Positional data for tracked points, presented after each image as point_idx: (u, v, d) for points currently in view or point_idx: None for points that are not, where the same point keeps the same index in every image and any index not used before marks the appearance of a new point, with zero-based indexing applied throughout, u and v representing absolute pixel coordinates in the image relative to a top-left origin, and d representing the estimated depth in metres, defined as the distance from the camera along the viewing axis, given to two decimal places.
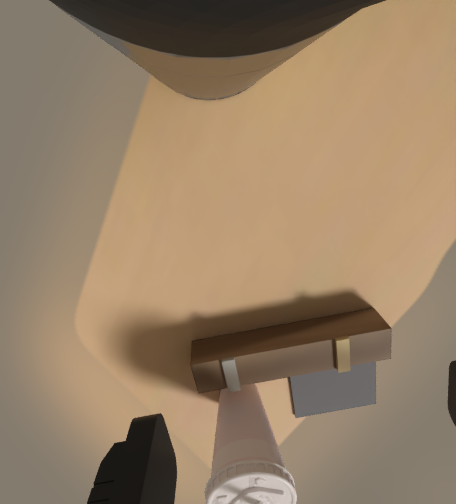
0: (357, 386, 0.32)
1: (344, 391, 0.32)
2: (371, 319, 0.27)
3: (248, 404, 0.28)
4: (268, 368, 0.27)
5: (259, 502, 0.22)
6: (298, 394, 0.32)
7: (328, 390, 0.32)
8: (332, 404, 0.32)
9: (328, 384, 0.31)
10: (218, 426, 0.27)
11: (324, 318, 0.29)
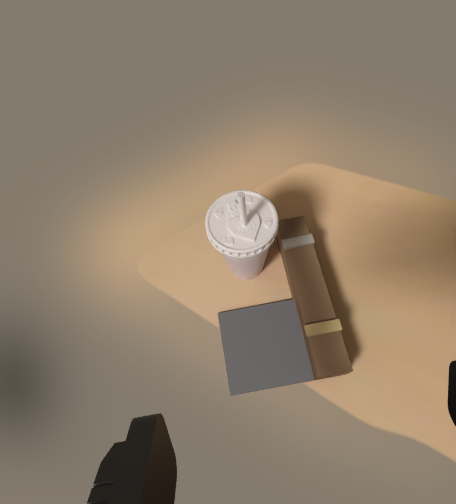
0: (254, 370, 0.32)
1: (248, 357, 0.32)
2: None
3: None
4: (303, 269, 0.33)
5: (247, 223, 0.28)
6: (246, 313, 0.34)
7: (250, 341, 0.33)
8: (232, 347, 0.33)
9: (258, 340, 0.33)
10: None
11: None
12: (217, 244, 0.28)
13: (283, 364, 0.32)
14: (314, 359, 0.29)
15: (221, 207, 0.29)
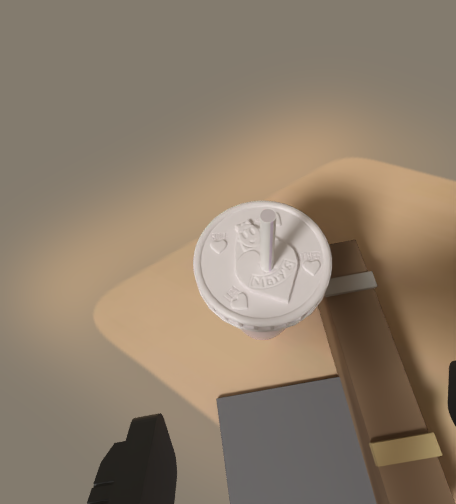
0: None
1: (268, 484, 0.19)
2: None
3: None
4: (360, 332, 0.20)
5: (273, 265, 0.15)
6: (263, 400, 0.21)
7: (270, 453, 0.20)
8: (240, 464, 0.20)
9: (283, 452, 0.20)
10: None
11: None
12: (215, 307, 0.14)
13: (328, 500, 0.18)
14: None
15: (224, 232, 0.16)
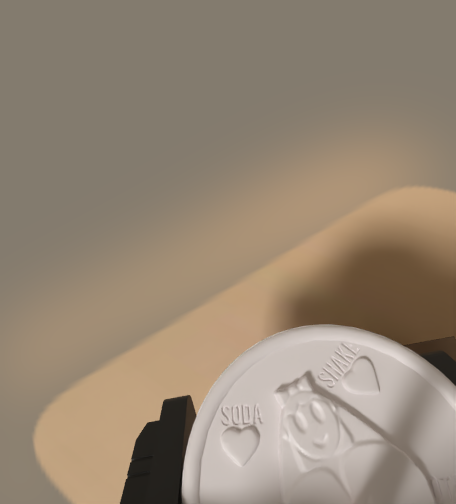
0: None
1: None
2: None
3: None
4: None
5: None
6: None
7: None
8: None
9: None
10: None
11: None
12: None
13: None
14: None
15: (252, 405, 0.07)
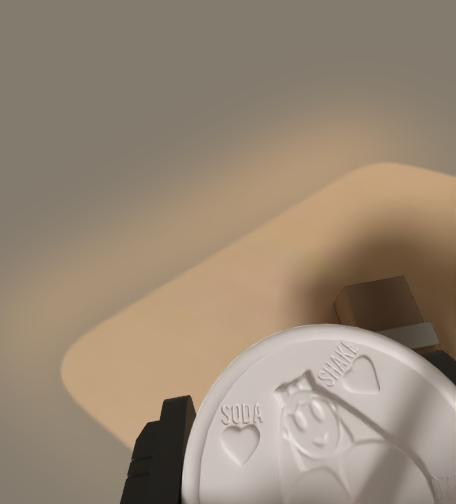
0: None
1: None
2: None
3: None
4: None
5: None
6: None
7: None
8: None
9: None
10: None
11: None
12: None
13: None
14: None
15: (251, 404, 0.07)
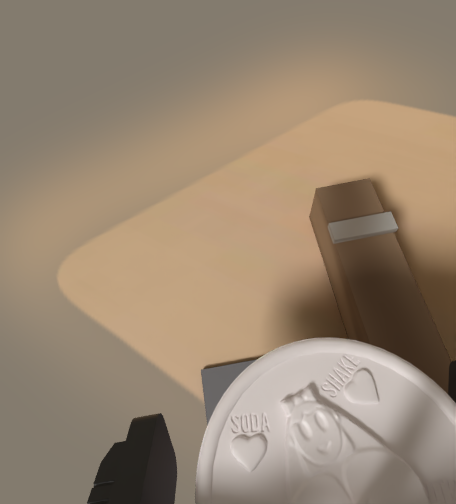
0: None
1: None
2: None
3: None
4: (378, 283, 0.16)
5: None
6: None
7: None
8: None
9: None
10: None
11: None
12: None
13: None
14: None
15: (259, 414, 0.08)
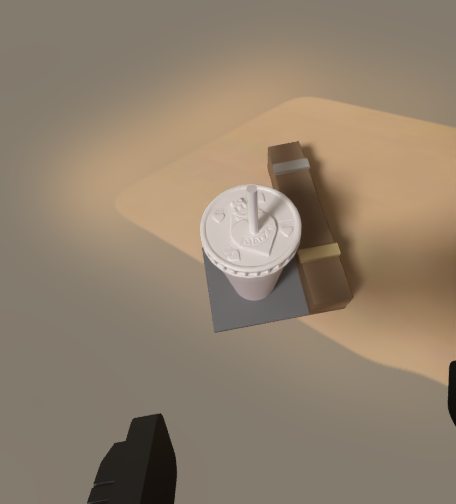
0: (241, 305, 0.28)
1: (235, 292, 0.29)
2: None
3: None
4: (297, 194, 0.29)
5: (258, 229, 0.20)
6: None
7: None
8: (217, 282, 0.29)
9: None
10: None
11: None
12: (216, 259, 0.20)
13: (274, 298, 0.28)
14: (309, 286, 0.26)
15: (223, 207, 0.21)
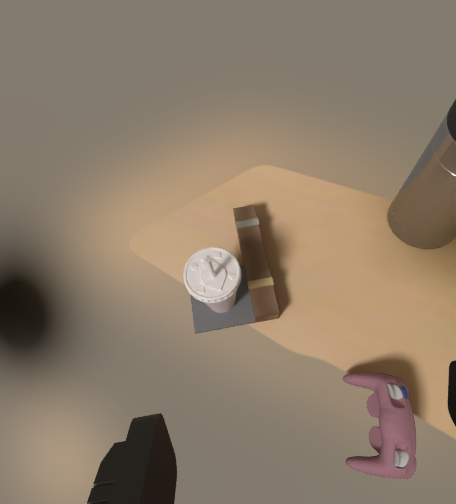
0: (212, 315, 0.44)
1: (209, 307, 0.44)
2: None
3: None
4: (250, 243, 0.45)
5: (215, 275, 0.36)
6: None
7: None
8: (198, 300, 0.45)
9: None
10: None
11: None
12: (192, 292, 0.35)
13: (234, 311, 0.44)
14: (253, 304, 0.41)
15: (196, 261, 0.37)
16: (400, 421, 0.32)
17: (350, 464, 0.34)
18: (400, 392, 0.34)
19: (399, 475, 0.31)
